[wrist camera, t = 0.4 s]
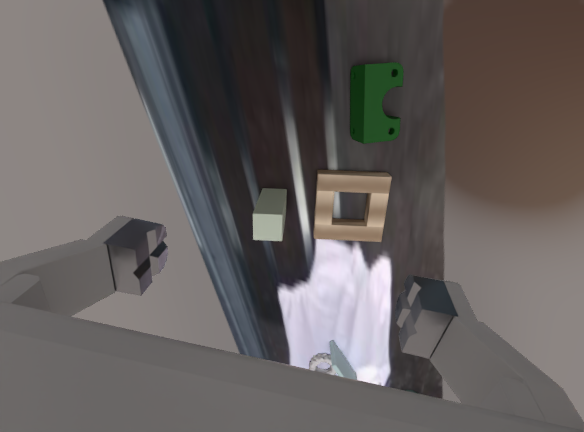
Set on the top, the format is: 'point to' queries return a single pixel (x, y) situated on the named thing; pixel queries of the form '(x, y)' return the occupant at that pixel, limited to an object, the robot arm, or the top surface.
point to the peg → (270, 215)
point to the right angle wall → (333, 363)
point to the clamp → (373, 102)
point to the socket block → (351, 182)
